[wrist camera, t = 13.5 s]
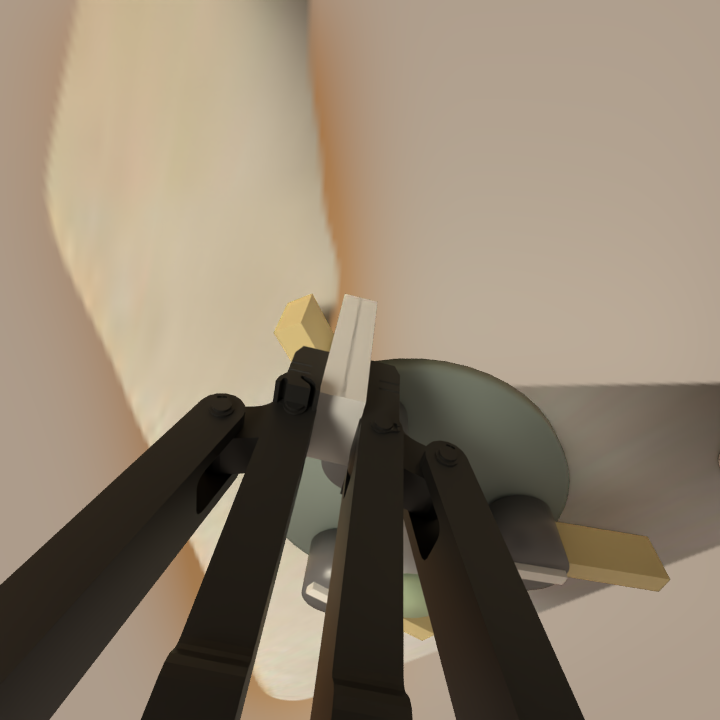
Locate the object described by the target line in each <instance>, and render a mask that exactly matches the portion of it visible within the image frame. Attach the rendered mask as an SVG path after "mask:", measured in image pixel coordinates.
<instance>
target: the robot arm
mask: <svg viewBox="0 0 720 720" xmlns="http://www.w3.org/2000/svg"><path fill="white" fill-rule="evenodd" d="M376 310H377V301H373V300H369V299H364V298H360V297H356V296H352V295H347V294H345V295H344V299H343V303H342V307H341V311H340V314H339V318H338V322H337V326H336V330H335V333H334V337H333V341H332V345H331V349H330V352H328V351H324V350H319V349H315V348H311V347H306V346H303V347H302V348H300V349H299V350H298V351H296V352H295V354H294V357H293V359H292V363H291V365H290V367H289V370H288V372H287V373H285V374H283V375H281V376H279V378H278V379H277V380H276V384H275V391H274V398H273V402H271V403H269V404H267V405H263V406H255V407H245V405H244V403H243V402H242V401H241V399H239V398H237V397H236V396H234V395H230V394H213V395H209V396H207V397H206V398H204V399H202V400H201V401H200V402H199V403H198V404H197V405H196V406H194V407H193V408H192V409H191V410H190V411H189V412H188V413H187V414H186V415H185V416H184V417H183V418H181V419H180V420H179V421H178V422H177V423H176V424H175V425H174V426H173V427H172V428H171V429H169V430H168V431H167V432H166V433H165V434H164V435H163V436H162V437H161V438H160V439H159V440H158V441H156V442H155V443H154V444H153V445H152V446H151V447H150V448H149V449H148V450H147V451H146V452H144V453H143V454H142V455H141V456H140V457H139V458H138V459H137V460H136V461H135V462H134V463H132V464H131V465H130V466H129V467H128V468H127V469H126V470H125V471H124V472H123V473H122V474H121V475H120V476H118V477H117V478H116V479H115V480H114V481H113V482H112V483H111V484H110V485H109V486H108V487H107V488H105V489H104V490H103V491H102V492H101V493H100V494H99V495H98V496H97V497H96V498H95V499H93V500H92V501H91V502H90V503H89V504H88V505H87V506H86V507H85V508H84V509H83V510H81V512H79V513H78V514H77V515H76V516H75V517H74V518H73V519H72V520H71V521H70V522H69V523H67V524H66V525H65V526H64V527H63V528H62V529H61V530H60V531H59V532H57V534H55V535H54V536H53V537H52V538H51V539H50V540H49V541H48V542H47V543H46V544H44V546H42V547H41V548H40V549H39V550H38V551H37V552H36V553H35V554H34V555H32V557H30V558H29V559H28V560H27V561H26V562H25V563H24V564H23V565H22V566H21V567H20V568H18V569H17V570H16V571H15V572H14V573H13V574H12V575H11V576H10V577H9V578H7V579H6V581H4V582H3V583H2V584H1V585H0V720H49V719H50V718H51V717H52V716H53V714H54V713H55V712H56V710H57V709H58V708H59V706H60V705H61V704H62V703H63V701H64V700H65V699H66V698H67V696H68V695H69V694H70V692H71V691H72V690H73V688H74V687H75V686H76V685H77V683H78V682H79V681H80V679H81V678H82V677H83V676H84V674H85V673H86V672H87V670H88V669H89V668H90V667H91V665H92V664H93V663H94V661H95V660H96V659H97V657H98V656H99V655H100V654H101V652H102V651H103V650H104V648H105V647H106V646H107V645H108V643H109V642H110V641H111V639H112V638H113V637H114V636H115V634H116V633H117V632H118V630H119V629H120V628H121V626H122V625H123V624H124V623H125V621H126V620H127V619H128V617H129V616H130V614H131V613H132V612H133V611H134V610H135V608H136V607H137V606H138V604H139V603H140V601H142V599H143V598H144V597H145V595H146V594H147V593H148V591H149V590H150V589H151V588H152V586H153V585H154V584H155V582H156V581H157V580H158V579H159V577H160V576H161V575H162V573H163V572H164V571H165V570H166V568H167V567H168V566H169V564H170V563H171V562H172V561H173V559H174V558H175V557H176V555H177V554H178V553H179V551H180V550H181V549H182V548H183V546H184V545H185V544H186V542H187V541H188V540H189V539H190V537H191V536H192V535H193V533H194V532H195V531H196V530H197V528H198V527H199V526H200V524H201V523H202V522H203V521H204V519H205V518H206V517H207V515H208V514H209V513H210V511H211V510H212V509H213V508H214V506H215V505H216V504H217V502H218V501H219V500H220V499H221V497H222V496H223V495H224V493H225V492H226V491H227V490H228V488H229V487H230V486H231V484H232V483H233V482H234V480H235V479H236V478H237V476H238V474H240V473H245V474H244V477H243V479H242V482H241V484H240V487H239V490H238V492H237V495H236V497H235V500H234V502H233V505H232V507H231V510H230V512H229V515H228V517H227V520H226V523H225V525H224V528H223V530H222V533H221V535H220V538H219V540H218V543H217V545H216V548H215V551H214V553H213V556H212V558H211V561H210V563H209V566H208V568H207V571H206V573H205V576H204V579H203V581H202V584H201V586H200V589H199V591H198V594H197V596H196V599H195V601H194V604H193V606H192V609H191V612H190V614H189V617H188V619H187V622H186V624H185V627H184V630H183V632H182V634H181V637H180V639H179V642H178V643H177V645H176V647H175V648H174V649H173V650H172V651H171V652H170V653H169V655H168V657H167V659H166V661H165V662H164V665H163V667H162V669H161V671H160V674H159V676H158V679H157V681H156V684H155V686H154V688H153V691H152V693H151V696H150V698H149V701H148V703H147V706H146V708H145V711H144V713H143V716H142V718H141V720H240V718H241V714H242V710H243V706H244V702H245V698H246V694H247V690H248V686H249V682H250V678H251V674H252V670H253V667H254V663H255V659H256V655H257V651H258V647H259V643H260V639H261V635H262V631H263V627H264V623H265V619H266V615H267V611H268V607H269V603H270V599H271V595H272V592H273V588H274V584H275V580H276V576H277V572H278V568H279V564H280V560H281V556H282V552H283V548H284V544H285V540H286V536H287V532H288V528H289V524H290V520H291V516H292V513H293V509H294V505H295V501H296V497H297V493H298V489H299V485H300V481H301V477H302V473H303V469H304V464H305V460H306V457H310V458H315V459H319V460H324V461H329V462H333V463H338V464H342V465H348V468H347V472H346V475H345V478H344V482H343V485H342V488H341V492H340V494H342V499H341V506H340V513H339V520H338V528H337V535H336V542H335V549H334V556H333V563H332V570H331V577H330V584H329V591H328V598H327V605H326V612H325V619H324V626H323V633H322V640H321V647H320V655H319V662H318V669H317V676H316V683H315V690H314V697H313V704H312V711H311V719H310V720H412V707H411V702H410V698H409V697H408V695H407V694H406V692H405V689H404V679H403V519H404V523H405V527H406V531H407V534H408V538H409V542H410V546H411V550H412V553H413V557H414V561H415V565H416V569H417V572H418V576H419V580H420V584H421V588H422V591H423V595H424V599H425V603H426V607H427V610H428V614H429V618H430V622H431V626H432V629H433V633H434V637H435V641H436V645H437V648H438V652H439V656H440V659H441V664H442V667H443V671H444V675H445V679H446V682H447V686H448V690H449V694H450V698H451V702H452V705H453V709H454V713H455V717H456V720H585V719H584V717H583V715H582V713H581V710H580V708H579V706H578V703H577V701H576V699H575V697H574V695H573V692H572V690H571V688H570V686H569V683H568V681H567V679H566V677H565V674H564V672H563V670H562V668H561V666H560V664H559V661H558V659H557V657H556V654H555V652H554V650H553V648H552V646H551V643H550V641H549V639H548V637H547V634H546V632H545V630H544V628H543V625H542V623H541V621H540V619H539V617H538V614H537V612H536V610H535V608H534V605H533V603H532V601H531V599H530V596H529V594H528V592H527V590H526V588H525V585H524V583H523V581H522V579H521V576H520V574H519V572H518V570H517V568H516V565H515V563H514V561H513V559H512V556H511V554H510V552H509V550H508V547H507V545H506V543H505V541H504V539H503V536H502V534H501V532H500V530H499V527H498V525H497V523H496V521H495V518H494V516H493V514H492V512H491V510H490V507H489V505H488V503H487V501H486V498H485V496H484V494H483V492H482V490H481V487H480V485H479V483H478V481H477V478H476V476H475V474H474V472H473V469H472V467H471V465H470V463H469V461H468V458H467V457H466V455H465V454H464V452H463V451H462V450H461V449H460V448H458V447H457V446H456V445H454V444H452V443H449V442H446V441H441V440H439V441H433V442H431V443H429V444H428V445H427V446H425V445H423V444H421V443H419V442H417V441H415V440H413V439H412V438H410V437H409V436H408V435H407V434H406V433H405V432H404V431H403V427H402V424H401V423H400V422H399V405H400V394H399V393H400V374H399V373H398V371H397V369H396V367H395V366H393V365H389V364H384V363H380V362H376V361H371V353H372V344H373V336H374V326H375V319H376ZM348 461H349V462H348Z"/></svg>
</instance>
